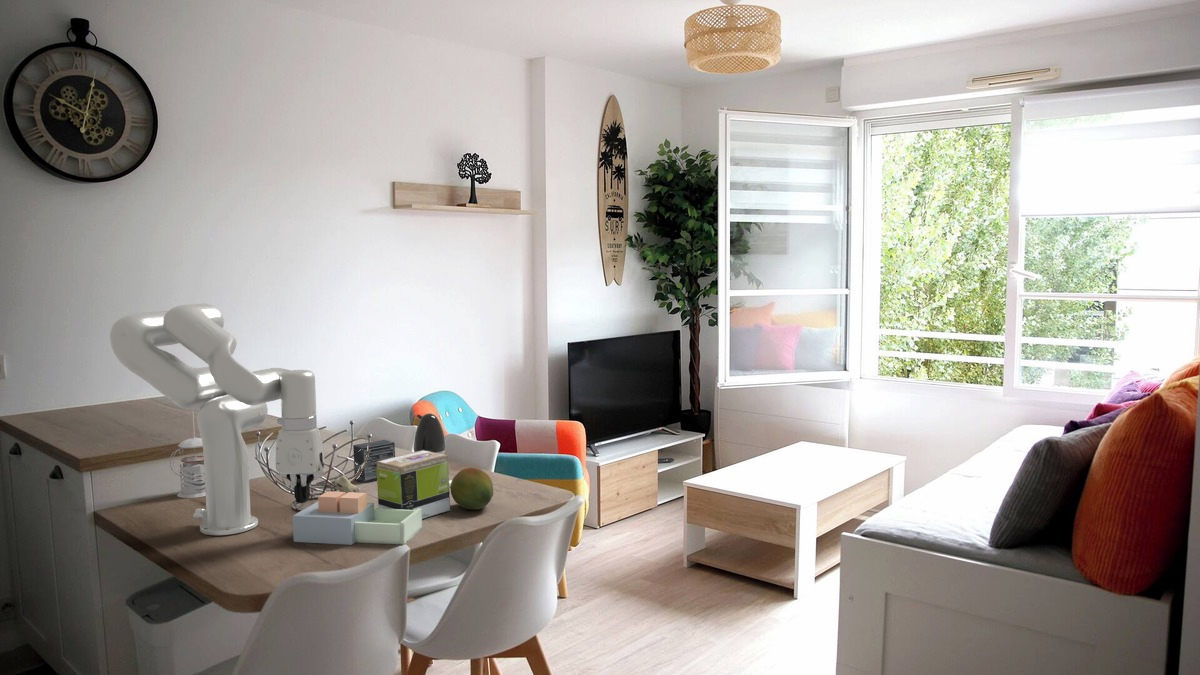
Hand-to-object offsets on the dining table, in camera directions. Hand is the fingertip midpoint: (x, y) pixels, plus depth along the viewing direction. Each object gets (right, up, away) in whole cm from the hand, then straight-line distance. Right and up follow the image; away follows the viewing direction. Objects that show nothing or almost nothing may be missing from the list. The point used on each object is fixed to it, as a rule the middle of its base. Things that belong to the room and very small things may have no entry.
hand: (302, 501), depth 189 cm
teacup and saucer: (+25, -5, +39) cm, 46 cm away
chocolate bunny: (+5, -6, +15) cm, 17 cm away
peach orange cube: (+12, -2, -2) cm, 13 cm away
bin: (+21, -8, -1) cm, 22 cm away
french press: (-43, -5, +35) cm, 55 cm away
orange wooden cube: (+7, -2, -1) cm, 8 cm away
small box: (+3, -3, +50) cm, 50 cm away
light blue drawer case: (+8, -8, -1) cm, 11 cm away
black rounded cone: (+15, -1, +71) cm, 72 cm away
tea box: (+23, -7, +14) cm, 28 cm away
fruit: (+37, -6, +20) cm, 42 cm away
